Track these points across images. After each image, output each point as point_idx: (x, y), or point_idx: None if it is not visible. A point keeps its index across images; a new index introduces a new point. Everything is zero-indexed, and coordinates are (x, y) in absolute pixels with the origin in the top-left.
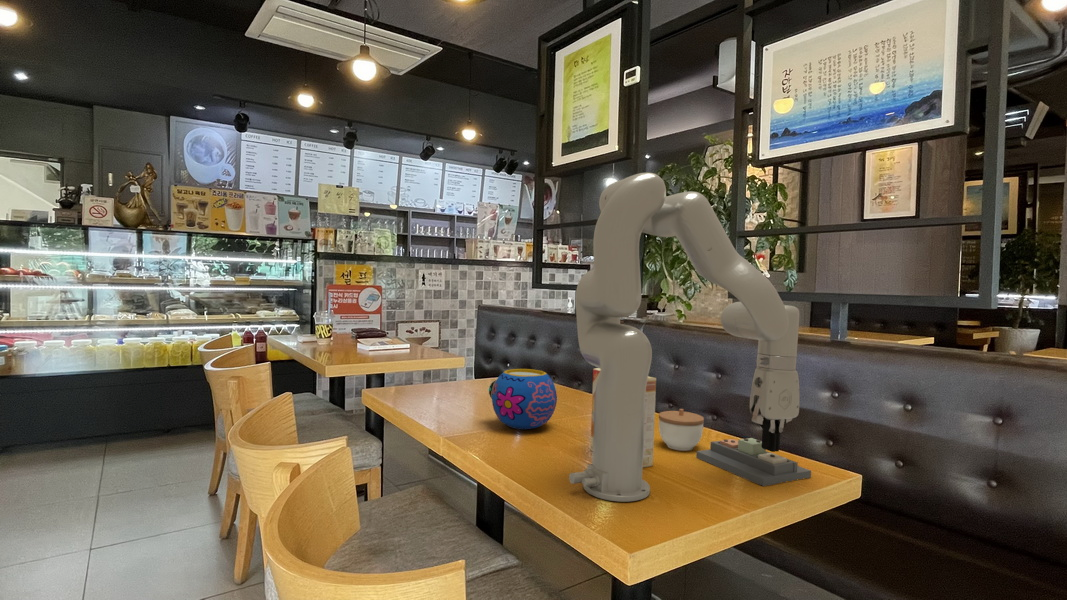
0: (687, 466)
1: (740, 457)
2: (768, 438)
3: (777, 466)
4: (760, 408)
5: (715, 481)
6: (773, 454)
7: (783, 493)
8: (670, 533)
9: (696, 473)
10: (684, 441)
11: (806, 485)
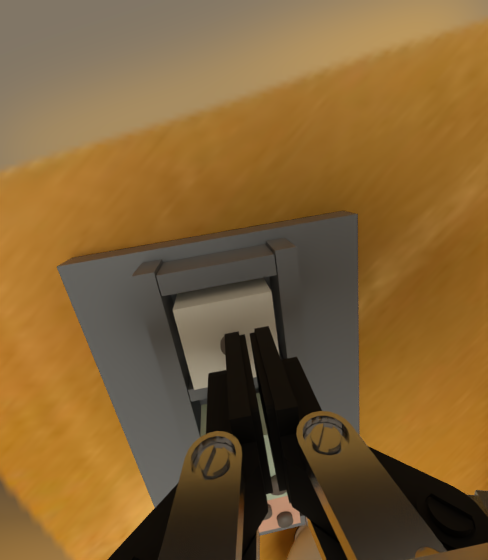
0: (429, 404)
1: None
2: (313, 392)
3: (277, 248)
4: None
5: (456, 284)
6: (203, 367)
7: (323, 125)
8: None
9: (452, 352)
10: None
11: (156, 183)
